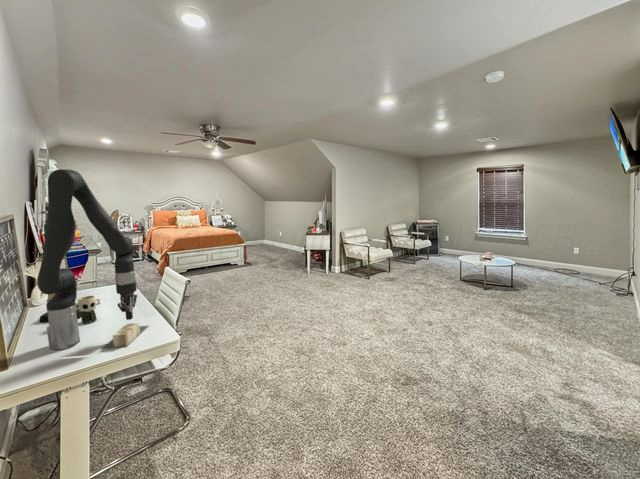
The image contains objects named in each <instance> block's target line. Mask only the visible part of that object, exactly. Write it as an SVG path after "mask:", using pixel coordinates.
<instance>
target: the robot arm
mask: <svg viewBox="0 0 640 479" xmlns="http://www.w3.org/2000/svg"><path fill="white" fill-rule="evenodd" d="M47 195H48V196H47V198H48V201H47V202H48V203H47V204H48V205H47V210H46V211H47V212H46V214H47V215H46V222H45V230H44V244H43V253H42V258H41V264H40V268H39V271H38V275H37V287H38V289H39V291H40V292H41V293H42V294H44V295H53V297H52V298H50V299H49V300H48V301H47V302H46V305H45V306H46V312H47V314H48V321H49V322H48V326H47V327H46V331H47V332H46V334H47V341H48V346H49V349H50V350H53V351H54V350H55V351H61V350H65V349H66V350H67V349H69V348H72V347H75V346H76V345H77V344H79V343H80V342H81V338H80V331H79V330H80V329H79V323H78V321H79V320H78V319H77V313H76V305H75V303H76V300H77V297H78V295H77V280H76V276H75V273H74V272H73V271H72V270H71V269H69V268H65V267H64V268H61V265H62V262H63V260H64V258H65V257H66V255H67V253H68V252H69V251H70V250H71V248H72V246H73V245H74V242H75V239H76V230H77V229H76V228H77V226H76V220H75V217H74V214H73V209H72V205H73V204H72V202H73V197H74V198H75V200H76V201H78V203H79V205H80V206H81V208H82V209H83V211H84V212H85V216H86V217H87V219H88V221H89V222H90V224H91V225H92V227H94V228H95V230H96V231H97V232H98V233H99V234H100V235H101V236H102V237H103V239H104V241H105V242H106V243H107V245H108V247H109V248H110V249H111V250H112V252H114V254H115V260H114V280H115V281H114V282H115V289H116V290H115V291H116V294H117V295H120V298H119V300H120V302H118V303H117V307H118V308H119V310H120V311H121V313H125V319H126V320H127V321H129V320H130V321H131V320H132V319H133V318H134V316H133V315H134V314H133V311H134V308H135V307H136V303H137V298H138V295H137V294H135V292H137V289H138V288H137V287H138V286H137V279H136V277H137V276H136V273H135V265H134V263H135V262H134V243H133V241H132V239H131V238H130V237H128V236H126V235H125V236H124V234H123V233H122V232H121V231H120V228H119V226H118V224H117V222H115V220H114V219H113V218H112V217H111V216H110V215H109V214H108V212H107V211H106V210H105V209H104V207H103V206H102V205H101V203H100V202H99V201H98V199H97V198H96V196H95V195H94V193H93V192H92V190H91V189H90V187H89V185H88V183H87V182H86V180H85V179H84V177H83V175H81V174H80V173H79V172H78V171H76V170H73V169H64V168H63V169H56V170H52V171H51V172H50V174H49V175H48V178H47Z"/></svg>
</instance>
